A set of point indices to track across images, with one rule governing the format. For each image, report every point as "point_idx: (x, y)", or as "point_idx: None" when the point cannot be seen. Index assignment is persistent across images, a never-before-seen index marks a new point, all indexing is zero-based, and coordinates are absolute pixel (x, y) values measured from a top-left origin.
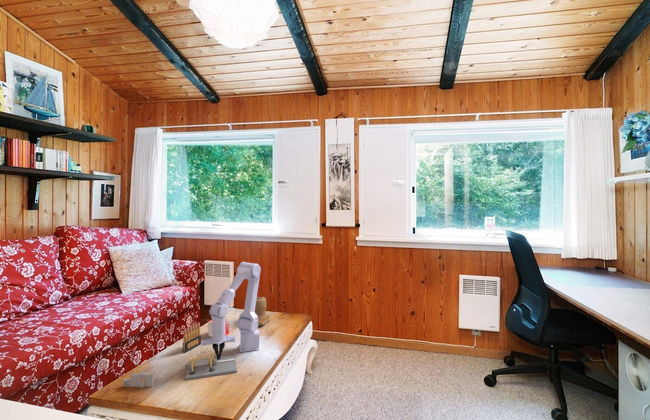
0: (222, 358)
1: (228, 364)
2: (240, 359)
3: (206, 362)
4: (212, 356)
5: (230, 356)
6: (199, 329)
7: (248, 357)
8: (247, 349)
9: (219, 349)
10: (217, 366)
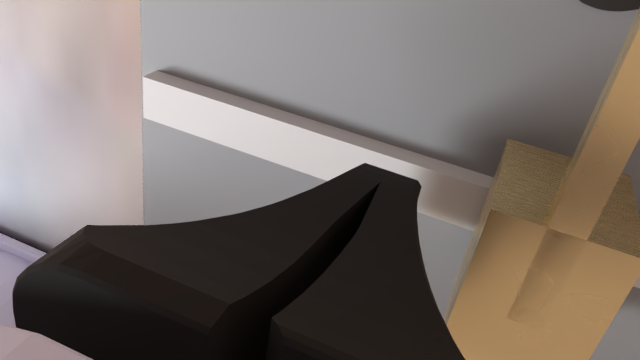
0: None
1: (260, 9)
2: (104, 118)
3: None
4: (516, 256)
5: None
6: None
7: (16, 108)
8: (15, 262)
9: (275, 264)
10: (461, 45)
